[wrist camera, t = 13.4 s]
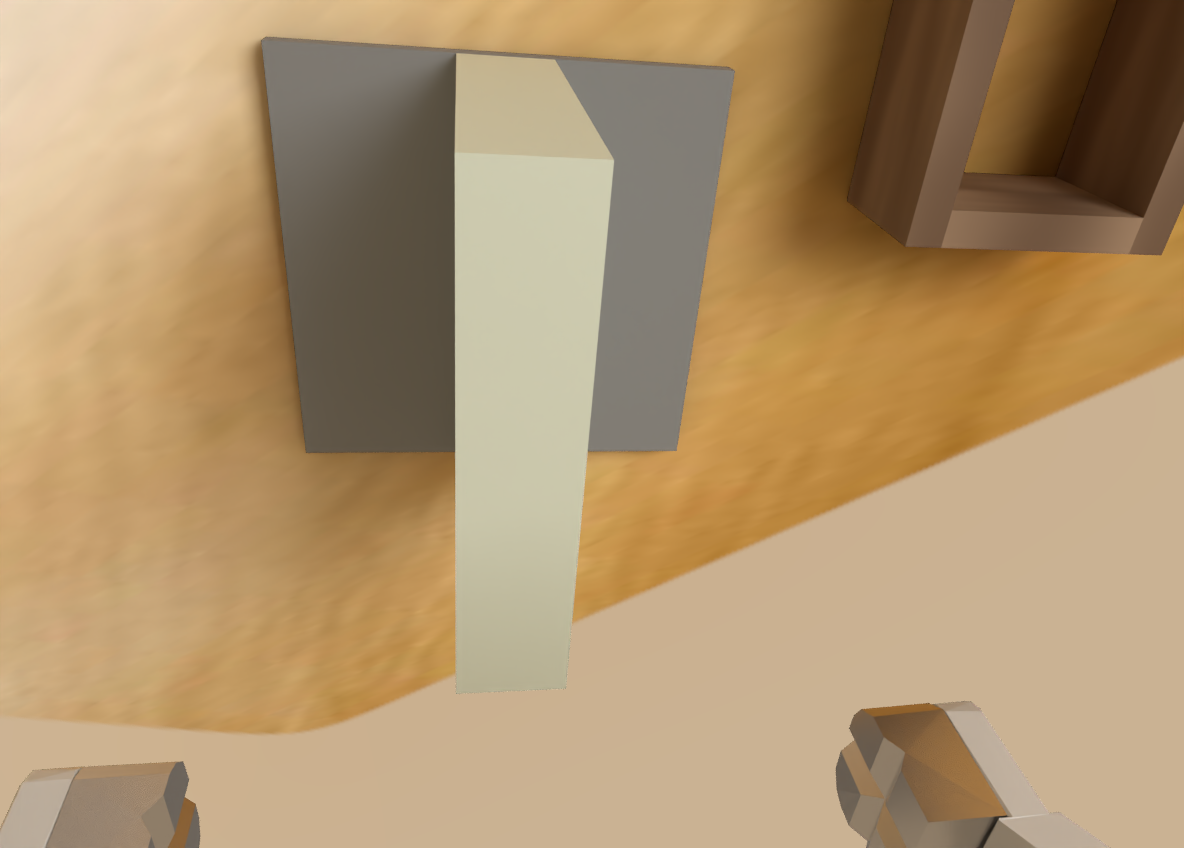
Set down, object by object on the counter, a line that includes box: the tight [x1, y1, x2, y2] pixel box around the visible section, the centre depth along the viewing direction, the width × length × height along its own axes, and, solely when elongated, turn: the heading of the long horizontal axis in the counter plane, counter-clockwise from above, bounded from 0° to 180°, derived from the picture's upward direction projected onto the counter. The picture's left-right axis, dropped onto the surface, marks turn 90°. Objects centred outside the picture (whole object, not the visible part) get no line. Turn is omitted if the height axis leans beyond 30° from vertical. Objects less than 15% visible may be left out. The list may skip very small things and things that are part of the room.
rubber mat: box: [261, 37, 735, 453], centre depth 25 cm, size 12×12×1 cm
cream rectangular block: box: [455, 53, 614, 694], centre depth 21 cm, size 2×12×10 cm, turn 175°
